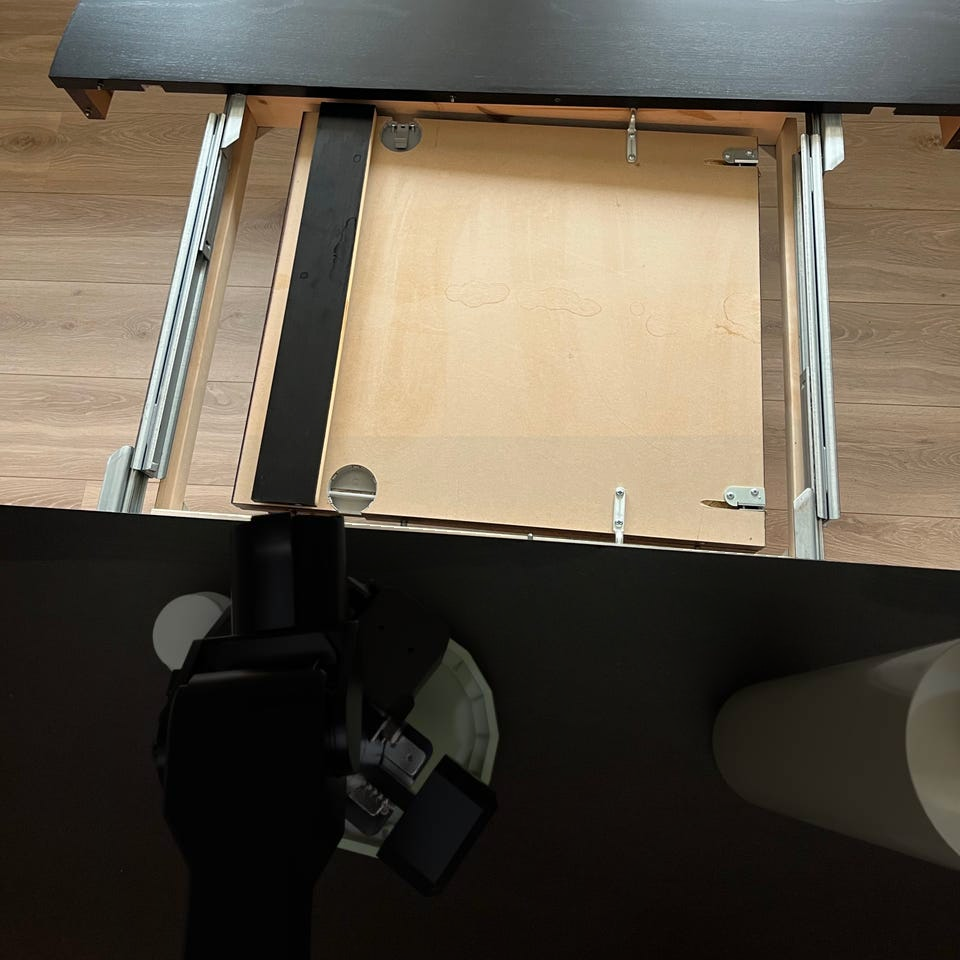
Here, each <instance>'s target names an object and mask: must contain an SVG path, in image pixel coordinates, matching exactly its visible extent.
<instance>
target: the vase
mask: <svg viewBox="0 0 960 960" xmlns="http://www.w3.org/2000/svg"><path fill="white" fill-rule="evenodd" d="M715 717H716V718H715V721H714V723H713V727H712V737H711V738H712V740H711V741H712V743H711V744H712V751H713V757H714V761H715V764H716V766H717V768H718V771H719V773H720V774H721V777H722V778H723V780H724V781H725V782H726V784H727V785H728V786H729V788H730V789H731V790H732V791H733V792H734V793H735V794H736V795H738V796H739V797H740V798H741V799H742V800H744V801H745V802H747V803H749V804H751V805H753V806H755V807H758V808H761V809H764V810H767V811H770V812H774V813H777V814H779V815H783V816H785V817H789V818H792V819H795V820H798V821H801V822H804V823H808V824H810V825H814V826H817V827H820V828H823V829H826V830H830V831H833V832H835V833H838V834H841V835H844V836H847V837H851V838H854V839H858V840H860V841H863V842H866V843H869V844H872V845H876V846H878V847H882V848H885V849H888V850H892V851H894V852H897V853H901V854H904V855H907V856H910V857H912V858H916V859H919V860H922V861H925V862H928V863H931V864H934V865H937V866H941V867H944V868H947V869H950V870H953V871H956V872H959V873H960V636H957V637H954V638H949V639H944V640H941V641H936V642H932V643H927V644H923V645H918V646H915V647H914V646H913V647H909V648H905V649H900V650H897V651H892V652H888V653H884V654H883V653H882V654H879V655H873V656H870V657H866V658H861V659H856V660H852V661H848V662H843V663H839V664H835V665H831V666H825V667H822V668H817V669H813V670H809V671H804V672H800V673H796V674H790V675H787V676H782V677H778V678H777V677H776V678H773V679H769V680H765V681H764V680H763V681H759V682H756V683H751V684H749V685H746V686H744V687H742V688H740V689H737V691H735V692H734V693H733V694H732V695H730V696H729V697H728V698H727V699H726V701H724V702H723V704H722V706H721V707H720V709H719V711H718V712H717V714H716V716H715Z"/></svg>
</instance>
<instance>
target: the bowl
mask: <svg viewBox="0 0 960 960" xmlns="http://www.w3.org/2000/svg"><path fill="white" fill-rule="evenodd" d="M414 701H415V706H414V708H413V709H412V711H411V712H410V713H409V715H408V716H407V718H406V719H405V721H406V722H408V723H409V724H410V725H411V726H412V727H414V728H415V729H416V730H417V731H419V732H420V733H421V734H422V735H424V736H425V737H426V738H427V739H429V740H430V742H431V743H432V745H433V753H432V756H431V758H430V759H429V761H428V763H427V764H426V766H425V767H424V769H423V770H422V772H421V773H420V774H419V776H418V777H417V779H416V781H415V783H414V784H413V786H412V787H411V789H412V790H413V791H414V792H415V793H417V792H418V791H419V790H420V788H421V787H422V785H423V784H424V782H425V781H426V779H427V778H428V776H429V775H430V774H431V772H432V771H433V769H434V768H435V767H436V765H437V764H438V763H439V761H440V760H441V759H442V757H443V756H444V755H445V754H448V755H449V756H451V757H452V758H454V759H455V760H456V761H458V762H459V763H460V764H462V765H463V766H464V767H465V768H467V769H468V770H469V771H470V772H472V773H473V774H474V775H475V776H477V777H478V778H479V779H480V780H482V781H483V782H484V783H485V784H487V785H488V786H489V787H490V785H491V783H492V780H493V776H494V771H495V766H496V761H497V756H498V752H499V748H500V743H501V742H500V741H501V738H502V737H501V736H502V735H501V730H500V729H501V728H500V722H499V716H498V711H497V704H496V697H495V693H494V691H493V689H492V687H491V685H490V684H489V682H488V681H487V679H486V677H485V675H484V673H483V672H482V671H481V669H480V667H479V665H478V663H477V662H476V661H475V658H474V657H473V656H472V654H471V653H470V652H469V650H467V649H465V648H464V647H463V646H461V645H460V644H459V643H458V642H456V641H455V640H453V639H452V638H451V637H450V640H449V643H448V646H447V649H446V652H445V655H444V657H443V660H442V663H441V665H440V666H439V667H438V669H437V670H436V671H435V672H434V673H433V675H432V676H431V677H430V679H429V680H428V681H427V682H426V684H425V685H424V686H423V688H422V689H421V690H420V692H419V693H418V694H417V695H416V697H415V698H414ZM383 807H384V806H383ZM403 813H404V812H403V811H402V810H401V809H400V808H397V809H396V810H395V811H394V812H393V814H392V815H391V816H390V818H389V819H388V821H387V822H386V824H385V825H384V827H383V828H382V829H381V831H380V832H379V833H378V834H376V835H374V836H366V835H364V834H363V833H362V832H361V831H359V830H358V829H357V828H356V827H355V826H353V825H352V824H351V823H350V822H349V821H348V820H346V819H345V831H344V835H343V837H342V839H341V841H340V843H339V845H338V846H337V849H338V848H339V849H342V850H346V851H350V852H352V853H353V852H354V853H357V854H361V855H364V856H369V857H372V858H376V859H379V858H378V857H377V856H376V854H377V852H378V850H379V849H380V847H381V845H382V844H383V842H384V840H385V839H386V837H387V836H388V835H389V833H390V832H391V830H392V829H393V827H394V826H395V824H396V823H397V821H398V820H399V819H400V817H401V816H402V814H403Z"/></svg>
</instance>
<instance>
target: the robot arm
mask: <svg viewBox="0 0 960 960" xmlns="http://www.w3.org/2000/svg"><path fill="white" fill-rule="evenodd" d="M345 522H346V521H345V517H344V516H343V515H342V514H341V515H340V514H336V515H334V514H333V515H320V514H294V513H293V512H292V511H290V510H289V511H281V512H271V513H263V514H256V515H255V514H254V515H251V517H250V520H249V521H246V522H241V523H240V524H236V525H235V526H232V527H230V528H229V560H230V561H229V562H230V563H229V564H230V565H229V566H230V567H229V568H230V599H231V605H229V606H228V607H227V608H226V610H225V611H224V612H223V613H222V615H221V616H220V617H219V619H218V620H217V621H216V622H215V624H214V625H213V626H212V627H211V629H210V630H209V631H208V633H207V634H206V635H205V636H204V638H203V639H195V640H193V642H192V644H191V646H190V649H189V651H188V653H187V656H186V658H185V660H184V663H183V665H182V667H181V669H174V670H173V671H171V674H170V675H171V676H170V679H169V682H168V686H167V689H166V692H165V696H164V699H163V703H162V706H161V710H160V713H159V717H158V720H157V723H156V727H155V730H154V733H153V737H152V739H151V740H152V741H151V745H150V759H151V763H152V765H153V767H154V768H155V769H156V770H157V775H158V780H159V783H160V787H161V790H162V799H161V815H162V817H163V819H164V821H165V823H166V826H167V828H168V831H169V832H170V834H171V836H172V838H173V841H174V843H175V845H176V846H177V849H178V851H179V853H180V855H181V857H182V859H183V861H184V863H185V865H186V868H187V885H186V900H185V901H186V902H185V915H184V923H183V932H182V942H181V953H180V960H311V949H312V948H311V947H312V946H311V943H312V942H311V941H312V919H313V918H312V917H313V915H312V914H313V901H314V900H313V899H314V889H315V886H316V884H317V883H318V881H319V879H320V877H321V875H322V874H323V872H324V870H325V869H326V867H327V865H328V864H329V862H330V861H331V859H332V857H333V855H334V854H335V852H336V849H338V847H337V846H338V845H339V843H340V841H341V839H342V837H343V835H344V831H345V819H346V820H348V821H349V822H350V823H351V824H352V825H353V826H355V827H356V828H357V829H358V830H359V831H361V832H362V833H363V834H364V835H366V836H374V835H376V834H378V833H379V832H380V831H381V829H382V828H383V827H384V825H385V824H386V822H387V821H388V819H389V818H390V816H391V815H392V814H393V812H394V811H395V810H396V809H397V808H400V809H401V810H402V811H403V812H404V813H403V814H402V816H401V817H400V819H399V820H398V821H397V823H396V824H395V826H394V827H393V829H392V830H391V832H390V833H389V835H388V836H387V837H386V839H385V840H384V842H383V844H382V845H381V847H380V849H379V850H378V852H377V854H376V856H377V857H378V858H377V859H379V860H380V861H381V862H382V863H384V864H385V866H387V867H388V868H390V869H391V870H392V871H393V872H394V873H395V874H397V876H399V877H400V878H401V879H402V880H403V881H405V882H406V883H407V884H408V885H409V886H410V887H412V888H413V890H415V891H417V893H419V894H420V895H421V896H422V897H424V898H425V899H426V898H432V897H435V896H441V895H442V893H443V892H444V890H445V889H446V888H447V886H448V884H449V883H450V881H451V880H452V878H453V877H454V875H455V873H456V872H457V871H458V869H459V868H460V866H461V865H462V863H463V862H464V860H465V858H466V857H467V856H468V854H469V853H470V851H471V849H472V848H473V847H474V845H475V843H476V842H477V840H478V838H480V836H481V834H482V833H483V831H484V830H485V829H486V827H487V826H488V824H489V822H490V821H491V820H492V818H493V817H494V815H495V813H496V812H497V811H498V809H499V803H498V796H497V791H496V790H494V789H493V788H492V787H490V785H489V786H488V785H487V784H485V783H484V782H483V781H482V780H480V779H479V778H478V777H477V776H475V775H474V774H473V773H472V772H470V771H469V770H468V769H467V768H465V767H464V766H463V765H462V764H460V763H459V762H458V761H456V760H455V759H454V758H452V757H451V756H449V755H448V754H445V755H444V756H443V757H442V759H441V760H440V761H439V763H438V764H437V765H436V767H435V768H434V769H433V771H432V772H431V774H430V775H429V776H428V778H427V779H426V781H425V782H424V784H423V785H422V787H421V788H420V790H419V791H418V792H417V793H415V792H414V791H413V790H412V789H411V787H412V786H413V784H414V783H415V781H416V779H417V777H418V776H419V774H420V773H421V772H422V770H423V769H424V767H425V766H426V764H427V763H428V761H429V759H430V758H431V756H432V753H433V745H432V743H431V742H430V740H429V739H427V738H426V737H425V736H424V735H422V734H421V733H420V732H419V731H417V730H416V729H415V728H414V727H412V726H411V725H410V724H409V723H408V722H406V721H405V719H406V718H407V716H408V715H409V713H410V712H411V711H412V709H413V708H414V706H415V701H414V698H415V697H416V695H417V694H418V693H419V692H420V690H421V689H422V688H423V686H424V685H425V684H426V682H427V681H428V680H429V679H430V677H431V676H432V675H433V673H434V672H435V671H436V670H437V669H438V667H439V666H440V665H441V663H442V660H443V657H444V655H445V652H446V649H447V646H448V643H449V640H450V638H451V633H450V629H449V627H448V625H447V624H446V623H445V622H444V621H443V620H442V619H441V618H439V617H438V616H437V615H435V614H434V613H433V612H431V611H430V610H429V609H427V608H426V607H425V606H424V605H423V604H421V603H420V602H418V601H417V600H415V598H413V597H412V596H410V595H409V594H408V593H406V592H405V591H403V590H402V589H401V588H398V587H395V586H388V587H387V586H386V585H385V584H383V583H382V582H381V581H380V580H378V579H377V578H374V579H373V578H371V579H370V580H368V581H367V583H360V582H359V581H358V580H357V579H356V578H354V577H352V576H349V574H348V559H347V556H348V555H347V542H346V525H345ZM383 806H384V807H383Z"/></svg>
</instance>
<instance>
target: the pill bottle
mask: <svg viewBox="0 0 960 960" xmlns="http://www.w3.org/2000/svg"><path fill="white" fill-rule="evenodd" d="M229 605H231V597H229V596H226V595H223V594H220V593H218V592H213V591H199V592H195V593H190V594H184V595H180V596H178V597H176V598H174V599H172V600H171V601H170V602H168V603H167V604H166V605H165V606H164V607H163V609H162V610H161V611H160V613H159V614H158V615H157V617H156V619H155V622H154V626H153V629H152V643H153V648H154V650H155V653H156V655H157V656H158V658H159V659H160V661H161V662H162V663H163V664H165V665H166V666H167V668H168V669H169V670H170V671H171V672H172V671H173V670H174V669H181V667H182V665H183V663H184V660H185V658H186V656H187V653H188V651H189V649H190V646H191V644H192V642H193V640H195V639H203V638H204V636H205V635H206V634H207V633H208V631H209V630H210V629H211V627H212V626H213V625H214V624H215V622H216V621H217V620H218V619H219V617H220V616H221V615H222V613H223V612H224V611H225V610H226V608H227V607H228V606H229Z"/></svg>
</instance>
